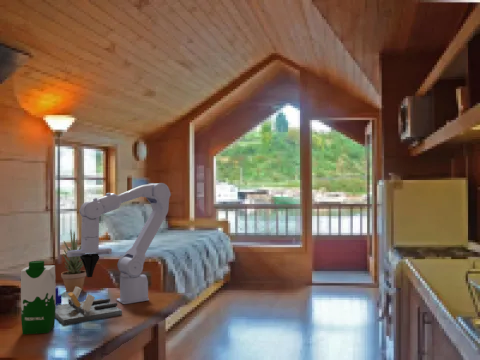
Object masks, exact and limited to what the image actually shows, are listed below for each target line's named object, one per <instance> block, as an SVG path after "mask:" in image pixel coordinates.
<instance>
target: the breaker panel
mask: <svg viewBox="0 0 480 360" xmlns="http://www.w3.org/2000/svg"><path fill="white" fill-rule="evenodd" d="M98 300H105V298H96V299H94V301H98ZM84 302H85V300H83V301H79V303H80V304H81V305H80V306H79V307H76V306H75V305H74V303H73V302H72V300H71V299H70V298H68V303H64V304H58V305H56V310H55V319H56V320H58V321H59V322H60V323H61V324H62V325H63V326H66V325H72V324H76V323H83V322H88V321H89V320H90V321H95V320H101V319H105V318H111V317H118V316H122V315H123V310H122V309H121V308H119V307H118V306H114V307H108V308H102V309H94V307H95V306H100V305H107V304H112V303H111V302H105V303H98V304H92V306H91V308H90V310H89V311H87V310H85V309H83V308H82V307H83V304H84ZM94 319H95V320H94Z"/></svg>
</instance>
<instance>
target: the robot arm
mask: <svg viewBox="0 0 480 360" xmlns="http://www.w3.org/2000/svg"><path fill="white" fill-rule="evenodd" d="M171 196H172V193H171V190H170V188H169V186H168V185H167V184H166V183H164V182H159V183H154V182H149V183H148V184H142V185H139V186H136V187H134V188H132V189H129V190H127V191H124V192H122V193H119V194H116V193H114V192H113V193H111V192H107V193H105V195H104V196H101V197H98V198H97V197H95V198H93V199H92V201H85V202H83V203H82V204H81V205H80V208H79V211H78V212H79V214H80V216H81V228H80V229H81V231H80V232H81V233H80V236H81V240H80V243H81V244H80V246H81V249H80V250H79V249H77V250H71V249H70V250H71V251H68V250H66V253H67V256H66V258H68V257H73V256H80V258H81V259H80V261H81V260H82V262H83V263H82V264H84V265H83V267H84V271H86V276H85V277H87V278H93V275H94V274H93V273H94V272H95V271H94V270H95V268H96V265H97V263H98V261H99V260H100V255H112V253H113V252H112V248H110V247H108V248H107V247H106V248H105V247H104V248H100V247H99V246H100V244H99V243H100V217H101V216H102V215H105V214H107V213H109V212H113V211H115V210H117V209H119V208H120V206H122V204H123V203H127V202H129V201H132V200H136V199H138V198H146V200H147V201H148V202H149V204H150V207H151V209H152V211H151V212H150V214H149V216H148V218H147V219H146V222H144V225H143V227H142V229H141V230H140V232H139V233H138V236H137V238H136V239H135V241H134V243H133V244H132V246H131V247H130V248H129V249H128V250H126V252H125V254H124V255H122V256H121V257H120V258H119V259H118V262H117V264H116V265H117V269H118V271H119V272H120V274H119V297H118V298H115V300H116V301H118V302H119V303H121V304H123V305H129V304H134V303H140V302H145V301H146V302H148V301H149V300H150V299H149V281H148V277H147V275H146V274H141V273H142V272H143V269H144V264H145V262H146V253H147V251H148V250H149V248H150V246H151V243H152V242H153V240H154V239H155V237H156V235H157V233H158V232H159V229H160V228H161V226H162V224H163V223H164V220H165V219H166V216H167V215H168V213H169V209H170V208H169V207H170V206H169V205H170V204H169V203H170V197H171Z"/></svg>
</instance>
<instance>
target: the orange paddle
mask: <svg viewBox="0 0 480 360" xmlns="http://www.w3.org/2000/svg"><path fill="white" fill-rule="evenodd" d="M67 296H68V297H69V299H71V300H72V302H73V303H74V305H75V306H76V307H79V306H80V305H81V304H80V303H79V302H80V301H79V300H78V299H79V298H78V299H77V298H76V296H75V294H74V293H73V292H67Z"/></svg>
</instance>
